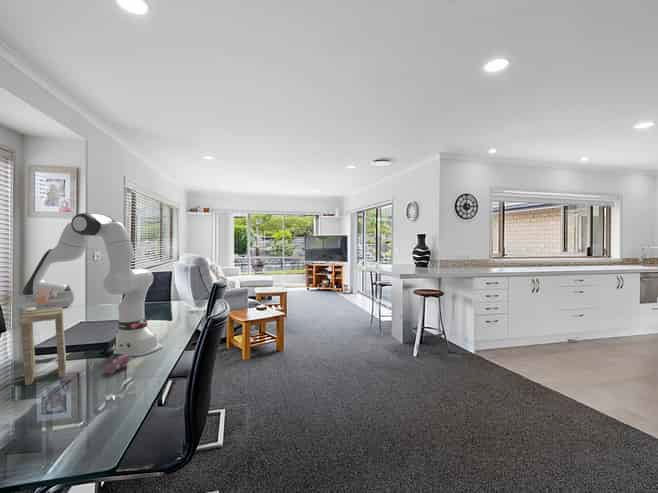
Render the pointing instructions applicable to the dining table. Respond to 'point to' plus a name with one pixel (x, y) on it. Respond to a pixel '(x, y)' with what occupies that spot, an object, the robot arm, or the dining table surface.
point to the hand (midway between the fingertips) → (44, 292)
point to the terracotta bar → (42, 297)
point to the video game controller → (118, 363)
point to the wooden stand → (29, 339)
